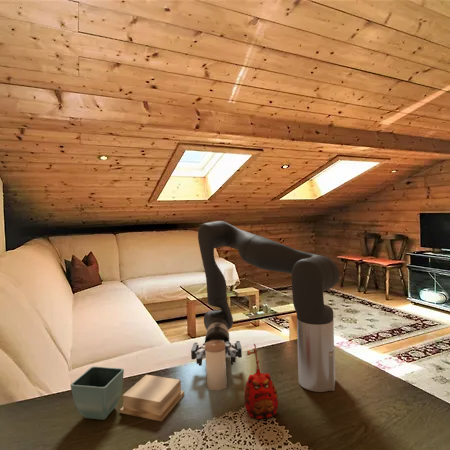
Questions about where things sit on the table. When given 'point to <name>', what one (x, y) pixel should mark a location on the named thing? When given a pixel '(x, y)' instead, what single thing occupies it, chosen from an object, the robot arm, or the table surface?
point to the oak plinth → (152, 397)
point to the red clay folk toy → (260, 394)
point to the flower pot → (97, 391)
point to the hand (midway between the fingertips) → (216, 361)
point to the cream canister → (216, 365)
